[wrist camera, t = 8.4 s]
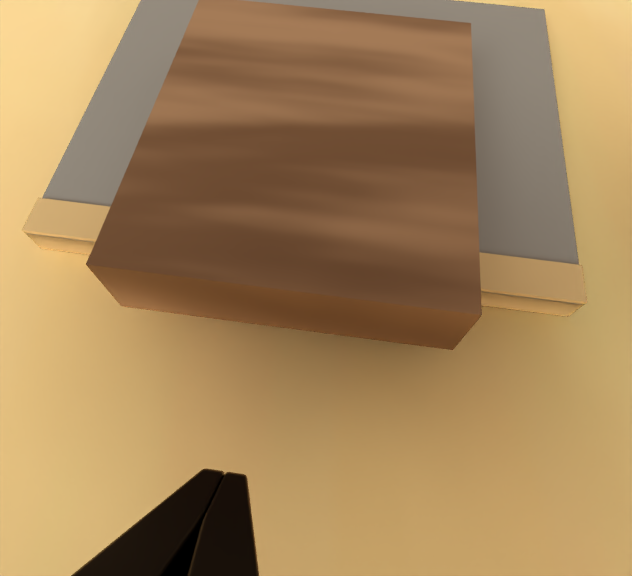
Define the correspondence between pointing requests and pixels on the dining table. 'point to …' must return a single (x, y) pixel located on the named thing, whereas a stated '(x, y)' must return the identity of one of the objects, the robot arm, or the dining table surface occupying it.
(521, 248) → the slate floor board
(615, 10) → the dining table surface
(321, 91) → the walnut plank
